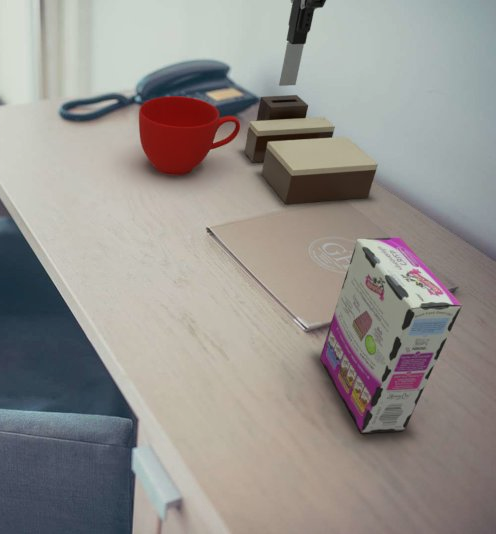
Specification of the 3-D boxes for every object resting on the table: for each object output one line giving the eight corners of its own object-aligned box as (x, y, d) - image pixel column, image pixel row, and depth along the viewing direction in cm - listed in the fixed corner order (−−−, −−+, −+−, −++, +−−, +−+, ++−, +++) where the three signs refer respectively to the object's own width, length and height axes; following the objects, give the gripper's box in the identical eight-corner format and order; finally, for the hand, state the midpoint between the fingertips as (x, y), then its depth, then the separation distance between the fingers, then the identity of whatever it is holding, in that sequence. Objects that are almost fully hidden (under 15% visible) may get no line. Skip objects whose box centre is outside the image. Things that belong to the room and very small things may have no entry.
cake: (338, 168, 110) (347, 136, 107) (368, 197, 102) (378, 164, 99) (261, 174, 108) (267, 141, 105) (285, 204, 100) (292, 170, 97)
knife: (292, 82, 114) (309, -4, 106) (298, 87, 112) (316, 0, 104) (276, 83, 114) (292, -3, 105) (282, 88, 112) (298, 0, 103)
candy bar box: (408, 431, 64) (466, 305, 55) (361, 435, 64) (411, 309, 54) (359, 354, 73) (402, 234, 64) (317, 356, 73) (354, 236, 63)
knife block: (288, 132, 122) (296, 94, 118) (299, 144, 118) (308, 105, 114) (253, 134, 121) (260, 96, 116) (263, 146, 117) (271, 107, 112)
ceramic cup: (242, 183, 105) (252, 126, 100) (140, 185, 104) (144, 128, 98) (225, 148, 116) (233, 95, 110) (131, 150, 115) (134, 96, 109)
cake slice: (317, 147, 117) (324, 116, 113) (327, 157, 114) (335, 126, 110) (244, 152, 115) (249, 121, 111) (252, 162, 112) (258, 130, 108)
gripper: (367, -81, 92) (338, 41, 103) (324, -94, 103) (301, 17, 114) (319, -80, 91) (294, 43, 102) (280, -94, 102) (261, 18, 113)
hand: (298, 29), depth 108 cm, fingers closed on knife, 2 cm apart
